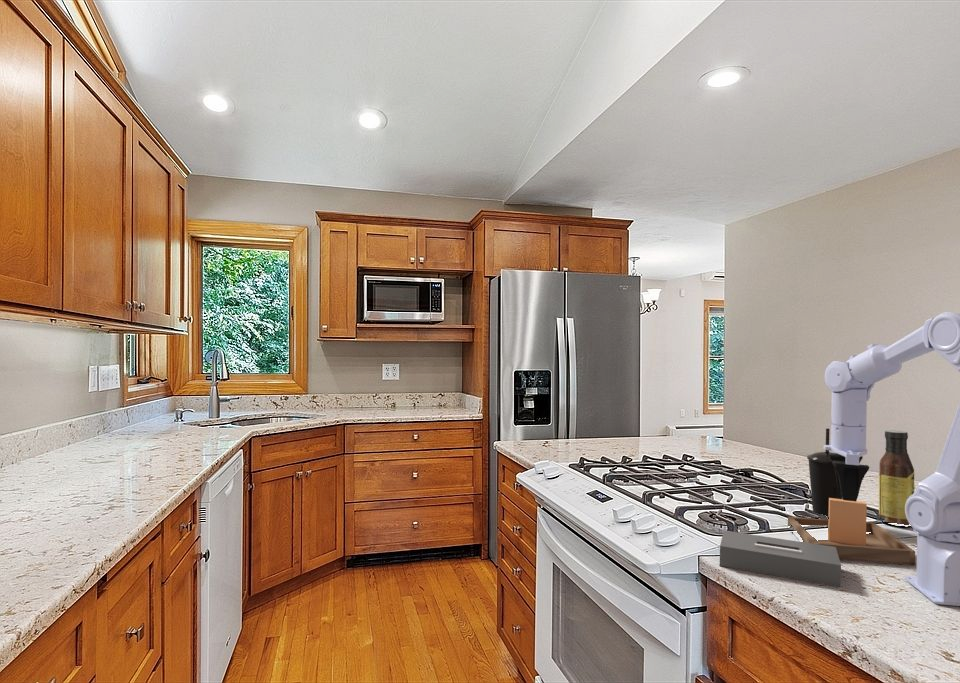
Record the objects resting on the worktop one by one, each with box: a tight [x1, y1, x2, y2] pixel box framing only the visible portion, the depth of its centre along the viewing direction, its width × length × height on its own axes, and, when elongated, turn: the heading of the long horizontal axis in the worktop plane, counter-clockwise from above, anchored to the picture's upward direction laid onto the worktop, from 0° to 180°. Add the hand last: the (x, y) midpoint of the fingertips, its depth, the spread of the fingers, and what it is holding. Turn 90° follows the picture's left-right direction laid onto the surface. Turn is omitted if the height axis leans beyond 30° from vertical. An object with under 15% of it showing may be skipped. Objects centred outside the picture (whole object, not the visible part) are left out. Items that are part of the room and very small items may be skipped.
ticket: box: [828, 498, 868, 546], centre depth 112 cm, size 6×2×8 cm, turn 64°
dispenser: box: [719, 530, 842, 588], centre depth 102 cm, size 18×9×4 cm, turn 63°
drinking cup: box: [806, 428, 843, 517], centre depth 127 cm, size 8×8×20 cm
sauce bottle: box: [878, 429, 916, 525], centre depth 126 cm, size 7×6×20 cm
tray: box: [787, 516, 916, 566], centre depth 112 cm, size 16×16×2 cm
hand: (847, 495), depth 112 cm, fingers open, 7 cm apart
